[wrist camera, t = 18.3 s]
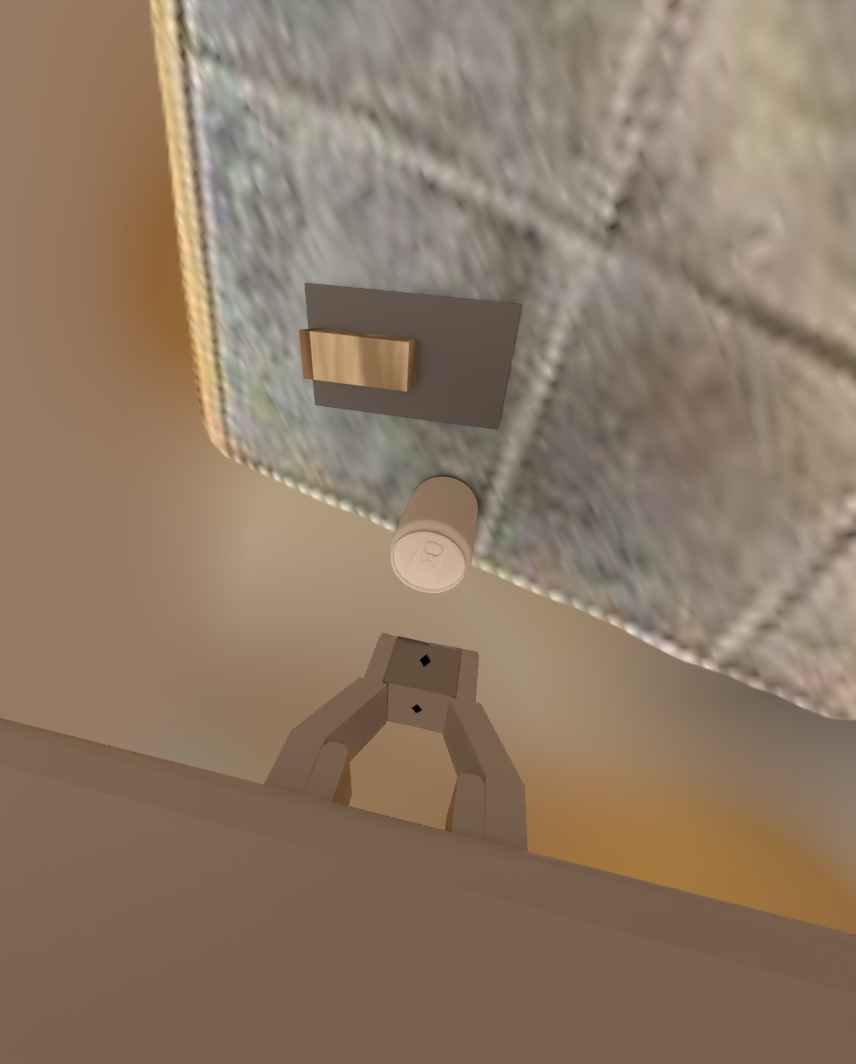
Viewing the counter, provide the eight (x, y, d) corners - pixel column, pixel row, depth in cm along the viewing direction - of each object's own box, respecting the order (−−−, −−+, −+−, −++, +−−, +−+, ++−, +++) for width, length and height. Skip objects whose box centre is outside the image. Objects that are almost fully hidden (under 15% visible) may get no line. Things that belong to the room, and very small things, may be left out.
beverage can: (405, 520, 46) (377, 580, 36) (422, 464, 41) (396, 514, 31) (464, 541, 46) (453, 607, 36) (488, 488, 41) (483, 545, 31)
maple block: (409, 342, 31) (298, 329, 32) (406, 391, 33) (303, 378, 34) (418, 339, 34) (318, 327, 35) (415, 383, 36) (321, 372, 37)
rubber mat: (521, 304, 32) (521, 304, 31) (498, 428, 38) (497, 429, 37) (307, 283, 34) (304, 283, 33) (317, 403, 40) (315, 405, 39)
